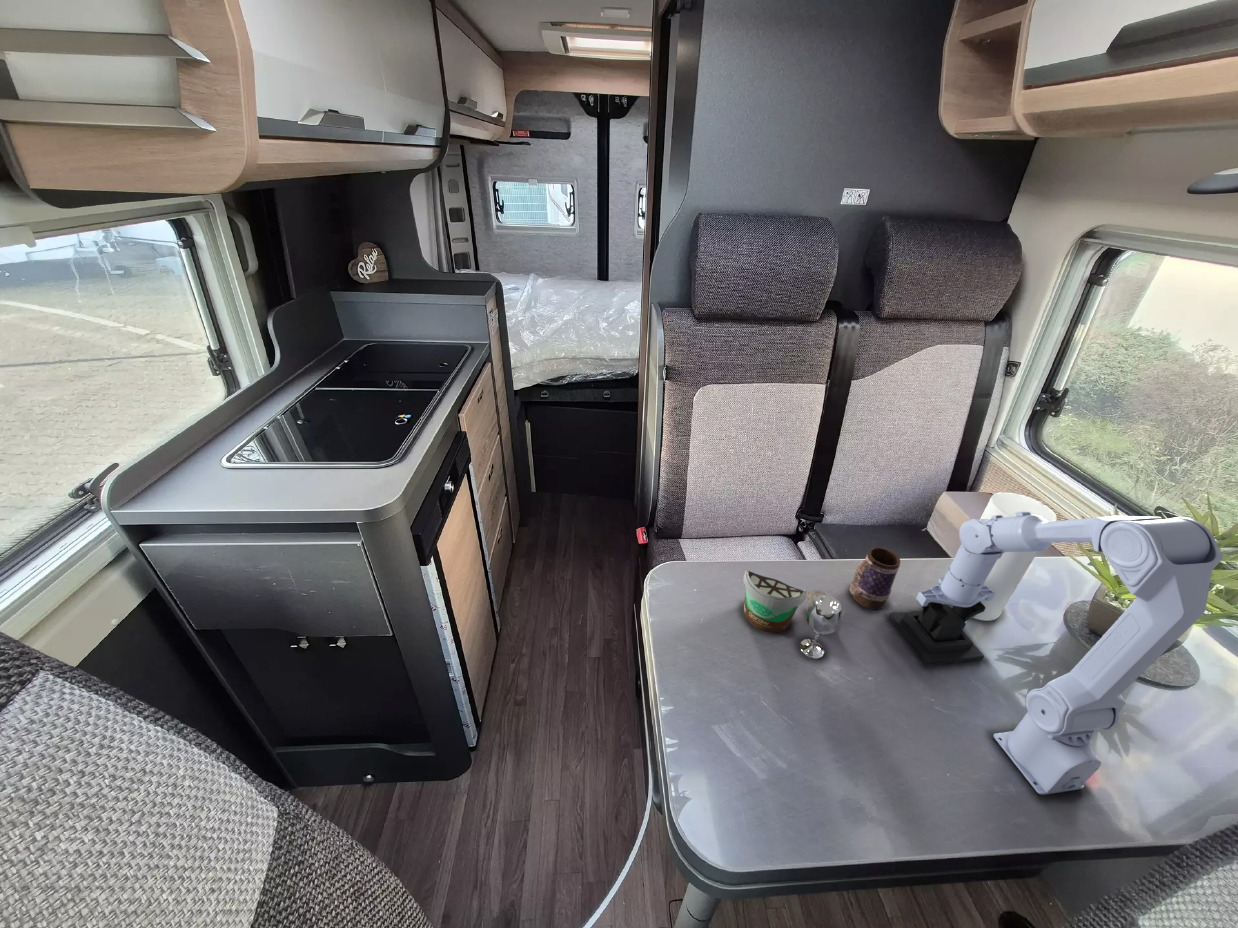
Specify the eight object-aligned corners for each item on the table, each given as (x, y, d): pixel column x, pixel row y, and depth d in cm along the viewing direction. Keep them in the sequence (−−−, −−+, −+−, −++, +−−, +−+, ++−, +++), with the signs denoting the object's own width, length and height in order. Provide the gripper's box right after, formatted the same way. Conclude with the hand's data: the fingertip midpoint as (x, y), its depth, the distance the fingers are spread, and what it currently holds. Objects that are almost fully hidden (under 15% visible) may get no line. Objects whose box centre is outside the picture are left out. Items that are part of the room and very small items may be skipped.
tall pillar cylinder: (940, 578, 119) (985, 486, 106) (993, 592, 116) (1047, 499, 103) (948, 611, 110) (998, 515, 97) (1005, 626, 107) (1065, 530, 94)
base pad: (982, 659, 100) (988, 649, 98) (926, 665, 98) (931, 655, 97) (940, 611, 110) (945, 602, 109) (888, 616, 108) (893, 606, 107)
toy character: (816, 611, 111) (816, 584, 110) (840, 627, 103) (841, 599, 103) (799, 614, 110) (799, 587, 109) (822, 630, 102) (822, 601, 102)
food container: (728, 621, 105) (737, 584, 100) (737, 601, 109) (746, 565, 104) (791, 646, 100) (803, 609, 95) (797, 625, 105) (809, 588, 100)
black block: (957, 640, 101) (966, 623, 99) (933, 642, 101) (941, 626, 98) (939, 619, 106) (947, 603, 103) (916, 621, 105) (924, 605, 103)
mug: (868, 582, 116) (885, 540, 110) (893, 605, 111) (912, 562, 105) (831, 593, 113) (847, 551, 107) (855, 617, 107) (873, 574, 101)
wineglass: (807, 664, 97) (823, 618, 91) (790, 639, 102) (805, 594, 95) (833, 658, 98) (851, 613, 92) (816, 634, 103) (832, 589, 97)
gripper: (985, 557, 100) (957, 608, 107) (917, 562, 98) (893, 613, 105) (1014, 583, 94) (983, 635, 101) (942, 589, 92) (915, 642, 99)
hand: (939, 626), depth 102 cm, fingers closed on black block, 5 cm apart
